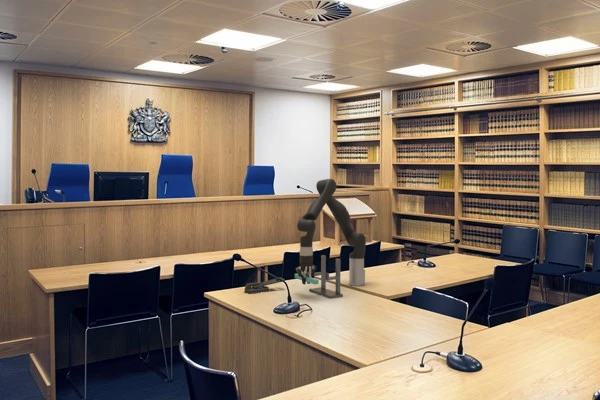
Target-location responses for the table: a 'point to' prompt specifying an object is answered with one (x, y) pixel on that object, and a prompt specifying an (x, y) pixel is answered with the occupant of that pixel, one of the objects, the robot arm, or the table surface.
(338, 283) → the hook rack
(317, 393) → the table surface
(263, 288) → the dark grey elongated piece
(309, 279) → the teal rail
